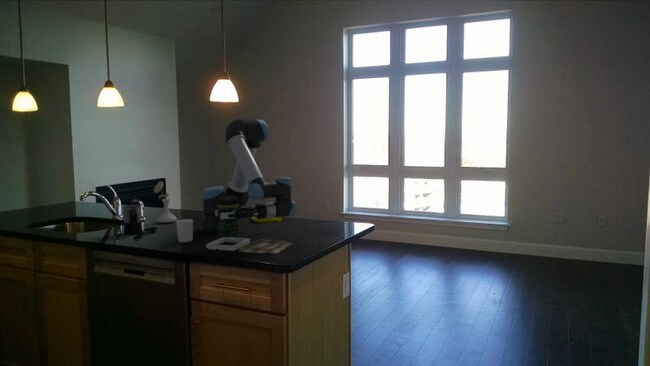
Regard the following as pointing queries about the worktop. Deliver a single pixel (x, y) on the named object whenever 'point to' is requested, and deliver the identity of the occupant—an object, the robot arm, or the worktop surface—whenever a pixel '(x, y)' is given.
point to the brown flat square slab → (266, 246)
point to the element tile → (266, 219)
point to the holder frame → (240, 244)
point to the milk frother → (133, 220)
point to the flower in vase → (166, 216)
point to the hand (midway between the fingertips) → (218, 214)
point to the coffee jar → (227, 225)
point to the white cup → (184, 230)
